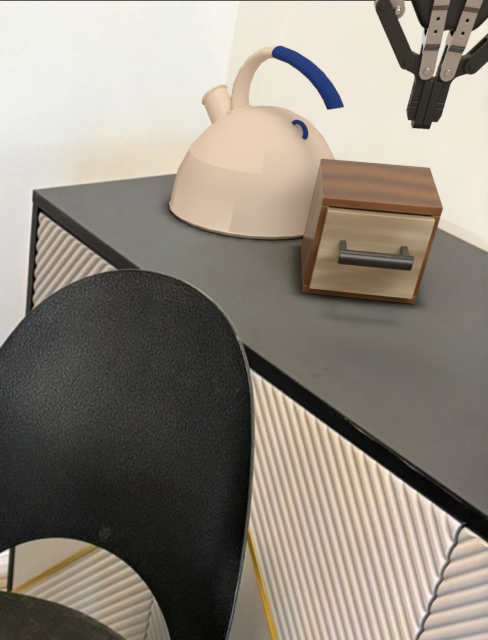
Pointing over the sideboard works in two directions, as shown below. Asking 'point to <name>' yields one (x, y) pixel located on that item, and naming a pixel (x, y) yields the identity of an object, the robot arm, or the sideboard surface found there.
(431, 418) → the sideboard surface
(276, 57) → the kettle
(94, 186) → the sideboard surface
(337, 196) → the wooden nightstand
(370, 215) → the drawer
